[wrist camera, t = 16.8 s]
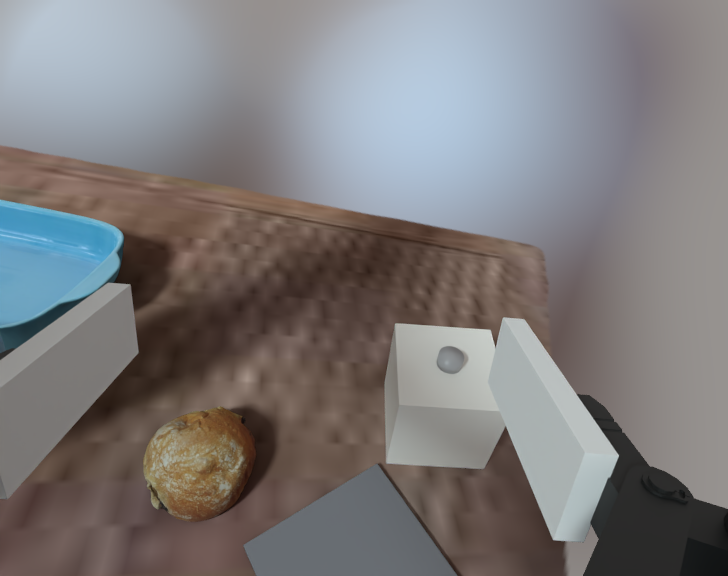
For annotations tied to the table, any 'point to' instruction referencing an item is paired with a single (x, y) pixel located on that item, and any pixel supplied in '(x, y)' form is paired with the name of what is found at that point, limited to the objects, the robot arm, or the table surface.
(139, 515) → the table surface
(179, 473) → the bread roll
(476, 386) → the box cover
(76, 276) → the casserole dish
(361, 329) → the table surface
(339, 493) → the rubber mat
